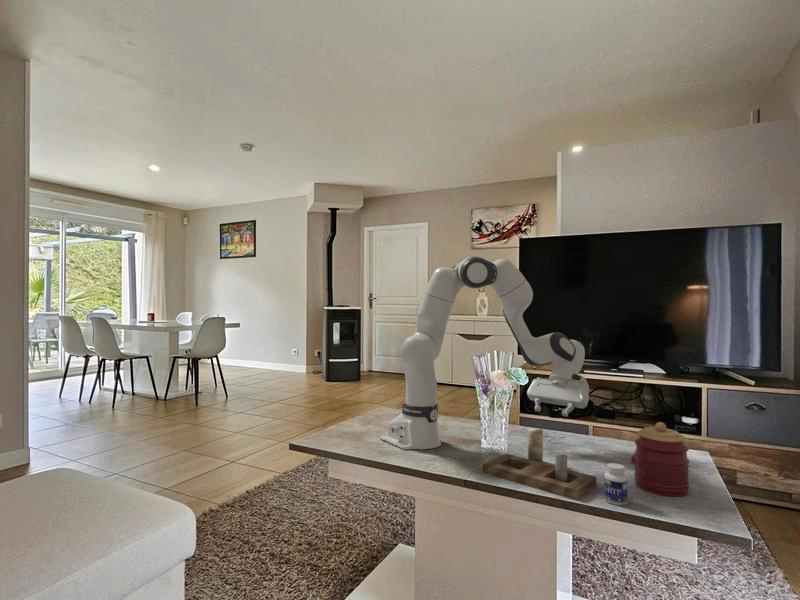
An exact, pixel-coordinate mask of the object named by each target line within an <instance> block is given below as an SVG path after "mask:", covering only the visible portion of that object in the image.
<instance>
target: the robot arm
mask: <svg viewBox="0 0 800 600" xmlns="http://www.w3.org/2000/svg"><path fill="white" fill-rule="evenodd" d="M487 286H490V287H491V288H492V289H493V290H494V291H495V293H496V294H497V296H498V297H499V299H500V301H501V303H502V306H503V309H502V313H503V316H504V319H505V322H506V324H507V326H508V328H509V329H510V331H511V333H512V335H513V337H514V338H515V341H516V343H517V345H518V347H519V349H520V353H521V355H522V358H523V360H524V361H525V363H527V365H530V366H533V367H538V366H542V365H545V364H547V363H553V367H552V370H551V372H550V374H549V377H548V378H547V377H539V376H538V377H537V378H534V379H533V380H532V382H531V383H530V385H529V387H528V389H527V390H526V394H527V397H528V398H529V400H530V401H534V403H535V406H534V411H535V412H538V413H539V412H541V410H542V407H541V403H546V404H552V405H558V406H563V407H564V406H565V408H563V409H562V410H561V412H560V413H561V415H562V417H568V416H569V413H571V412H572V411H573V410H574V409H575V408H578V409H585V408H587V406H588V403H589V399H590V398H589V397H590V396H589V395H590V394H589V391H590V386H589V384H588V381H587V379H586V377H584V376H583V375H581V374H579V373H580V372H581V370H582V368H583V364H584V361H585V356H586V355H585V354H586V353H585V352H586V351H585V347H584V345H583V344H582V343H581V342H580V341H578V340H575V339H569V338H568V337H567V336H566V335H565V334H564V333H561V332H558V331H555V332H551V333H548V334H545V335H541V336H538V337H534V336H532V334H531V331H530V330H529V328H528V326H527V324H526V322H525V321H524V317H523V316H524V315H523V314H524V313H525V311H526V310H527V308H529V306H530V305H531V304H532V301H533V298H534V297H533V296H534V291H533V288H532V287H531V284H530V283H529V282H528V280H527V279H526V277H525V276H524V275H523V273H522V272H521V271H520V270H519V269H518V267H517V266H516V265H515V264H514V263H512V261H510V260H509V259H507V258H498V259H496V260H494V261H493V262H491V261H490V260H487V259H485V258H483V257H479V256H476V255H473V256H472V255H471V256H470V255H469V256H466V257H464V258H462V259H461V260H460V261H458V262H457V263H456V264H455V265H454V266H453V267H452V268H451V267H447V266H441V267H438V268H436V269H434V272H433V273H432V275H431V276H430V279H429V281H428V283H427V285H426V288H425V290H424V293H423V296H422V299H421V302H420V305H419V307H418V311H417V315H416V316H417V320H416V325H415V330H414V333H413V334H412V335H410V336H408V337H407V338H406V339H405V340H404V341H403V342H402V344H401V346H400V356H401V359H402V364H403V370H404V378H405V402H404V403H402V404H400V407H399V408H400V409H401V408H402V410H401V413H400V414H399V415H397V416H395V417H394V418H393V419H392V420H390V422H389V423H388V426H387V431H386V433H383V435H381V436H380V440H381V439H382V440H381V441H383V440H385V441H387V442H386V443H388V442H389V443H388V444H390V443H391V444H390V445H392V444H393V445H392V446H395V445H396V446H395V447H397V446H398V447H397V448H399V447H400V448H399V449H401V448H402V450H429V449H435V448H438V447H440V446H441V445H442V442H441V438H440V433H439V425H438V417H439V416H438V415H439V404H438V401H437V400H438V399H437V398H438V395H437V394H438V381H437V378H436V372H435V363H434V362H435V361H436V359H437V358H438V357H439V355H440V353H441V350H442V347H443V346H442V345H443V342H444V339H445V333H446V329H447V325H448V322H449V320H450V316H451V312H452V310H453V307H454V304H455V301H456V299H457V295H458V292H459V291H461V289H462V288H464V287H466V288H469V289H481V288H485V287H487ZM385 441H384V442H385Z"/></svg>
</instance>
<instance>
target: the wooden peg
mask: <svg viewBox="0 0 800 600" xmlns="http://www.w3.org/2000/svg"><path fill="white" fill-rule="evenodd" d="M543 433H544V431H543V429H541V428H537V427H532V428H528V430H527V434H528V436H527V444H528V445H527V459H528V460H532V461H536V462H540V463H544V461H543V460H544V458H543V457H544V456H543V453H544V449H543V448H544V447H543V445H544V440H543V439H544V437H543V436H544V434H543Z"/></svg>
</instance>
